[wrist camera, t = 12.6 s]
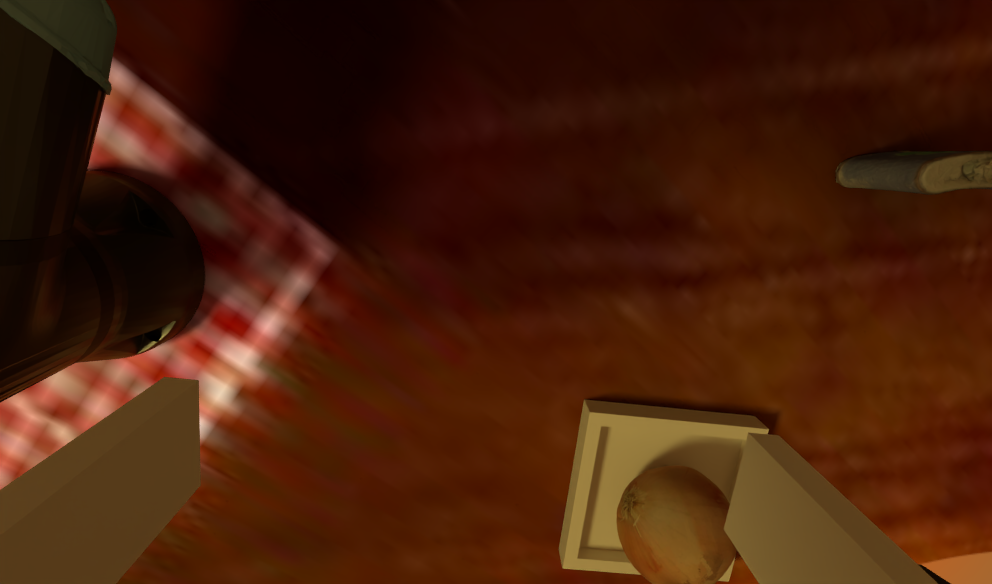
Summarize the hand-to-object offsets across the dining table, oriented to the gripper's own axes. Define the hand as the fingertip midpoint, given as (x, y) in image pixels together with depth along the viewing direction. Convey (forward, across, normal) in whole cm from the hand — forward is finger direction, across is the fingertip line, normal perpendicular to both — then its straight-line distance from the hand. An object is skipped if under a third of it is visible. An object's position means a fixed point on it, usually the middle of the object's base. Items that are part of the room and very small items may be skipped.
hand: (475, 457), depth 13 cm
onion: (+32, +19, -21) cm, 43 cm away
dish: (+33, +19, -21) cm, 43 cm away
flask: (+33, +33, +10) cm, 48 cm away
